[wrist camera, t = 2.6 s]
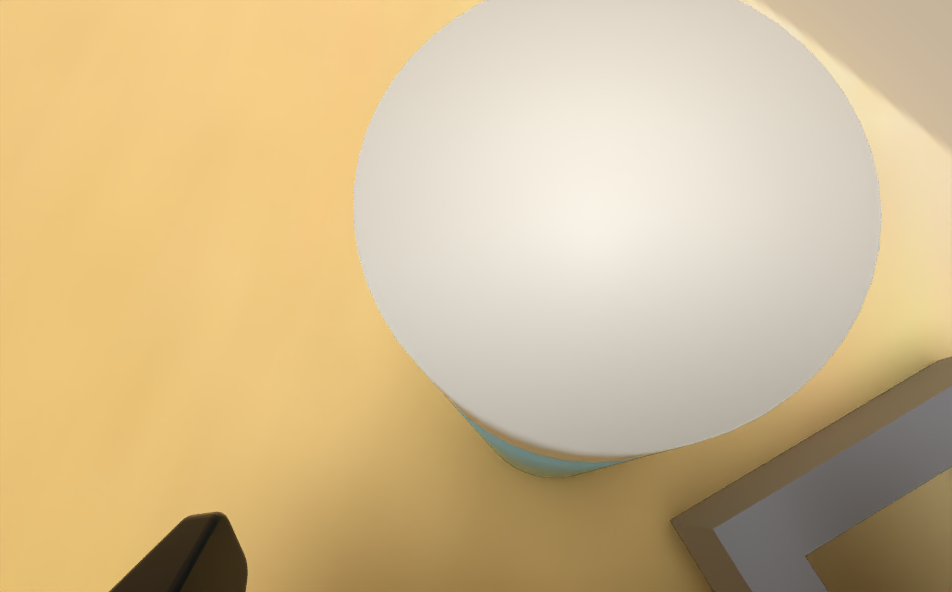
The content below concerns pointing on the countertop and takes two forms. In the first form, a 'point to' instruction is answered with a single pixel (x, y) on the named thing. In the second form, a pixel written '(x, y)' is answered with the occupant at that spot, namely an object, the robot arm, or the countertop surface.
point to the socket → (822, 488)
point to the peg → (615, 222)
